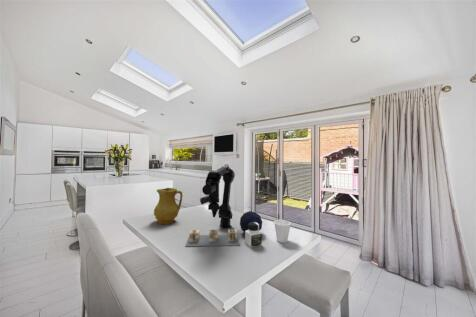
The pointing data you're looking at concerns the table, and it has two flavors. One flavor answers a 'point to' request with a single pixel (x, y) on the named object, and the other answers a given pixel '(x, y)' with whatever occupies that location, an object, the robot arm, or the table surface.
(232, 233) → the marked block
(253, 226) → the medicine bottle
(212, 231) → the plain block
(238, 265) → the table surface
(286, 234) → the cup
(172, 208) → the pitcher
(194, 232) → the marked block
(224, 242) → the mat
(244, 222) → the decorative orb
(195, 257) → the table surface
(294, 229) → the table surface
